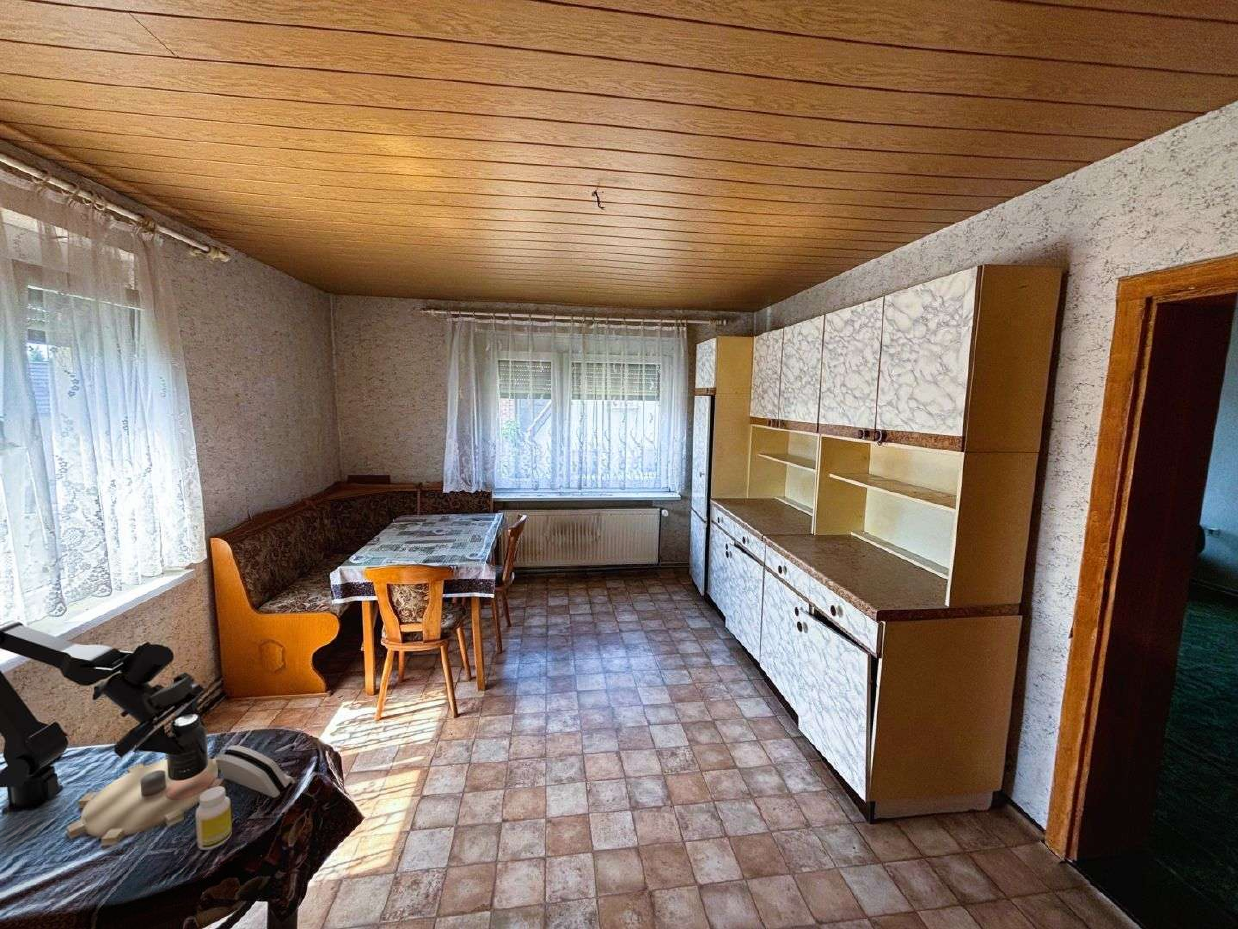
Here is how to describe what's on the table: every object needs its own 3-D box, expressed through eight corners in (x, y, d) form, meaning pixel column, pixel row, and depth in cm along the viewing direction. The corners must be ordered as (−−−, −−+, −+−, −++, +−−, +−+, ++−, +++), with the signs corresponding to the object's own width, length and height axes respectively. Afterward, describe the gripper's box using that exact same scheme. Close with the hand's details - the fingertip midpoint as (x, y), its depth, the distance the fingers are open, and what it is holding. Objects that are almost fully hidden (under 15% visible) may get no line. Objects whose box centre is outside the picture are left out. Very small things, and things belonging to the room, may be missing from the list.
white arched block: (296, 782, 118) (280, 753, 113) (278, 803, 114) (260, 773, 110) (246, 763, 123) (228, 735, 119) (226, 782, 119) (208, 753, 115)
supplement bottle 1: (172, 766, 115) (169, 715, 114) (210, 757, 118) (208, 707, 117) (164, 786, 109) (161, 732, 108) (205, 776, 112) (202, 723, 111)
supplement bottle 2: (238, 833, 104) (236, 787, 103) (209, 854, 99) (206, 807, 98) (220, 825, 105) (217, 780, 104) (190, 846, 100) (187, 799, 99)
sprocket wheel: (27, 855, 97) (25, 833, 97) (127, 762, 123) (126, 745, 122) (186, 835, 103) (184, 814, 102) (250, 750, 128) (249, 733, 128)
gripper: (125, 694, 101) (189, 745, 104) (193, 649, 120) (246, 694, 122) (84, 733, 102) (149, 783, 104) (158, 682, 120) (212, 726, 122)
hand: (193, 742), depth 113 cm, fingers closed on supplement bottle 1, 7 cm apart
